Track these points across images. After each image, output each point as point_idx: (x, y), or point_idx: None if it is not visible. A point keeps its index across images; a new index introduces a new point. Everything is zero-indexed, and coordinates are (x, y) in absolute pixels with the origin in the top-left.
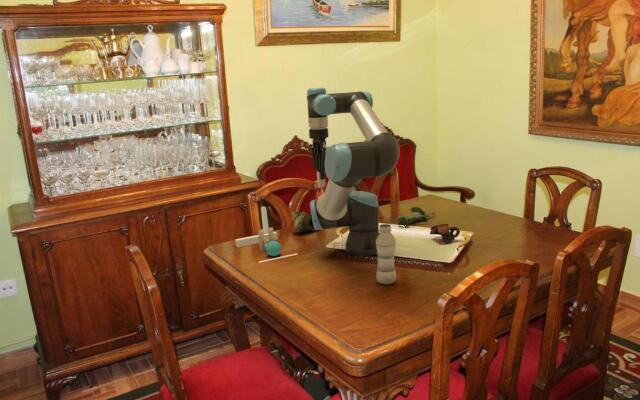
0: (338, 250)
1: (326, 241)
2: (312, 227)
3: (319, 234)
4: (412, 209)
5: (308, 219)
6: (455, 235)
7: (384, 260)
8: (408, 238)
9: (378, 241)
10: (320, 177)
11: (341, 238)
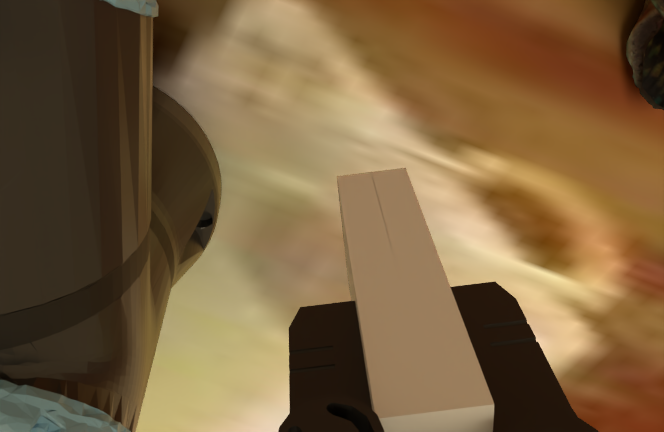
0: (157, 36)
1: (381, 35)
2: (651, 33)
3: (554, 48)
4: None
5: (661, 5)
6: None
7: None
8: (201, 412)
9: None
10: (357, 328)
11: (384, 144)
